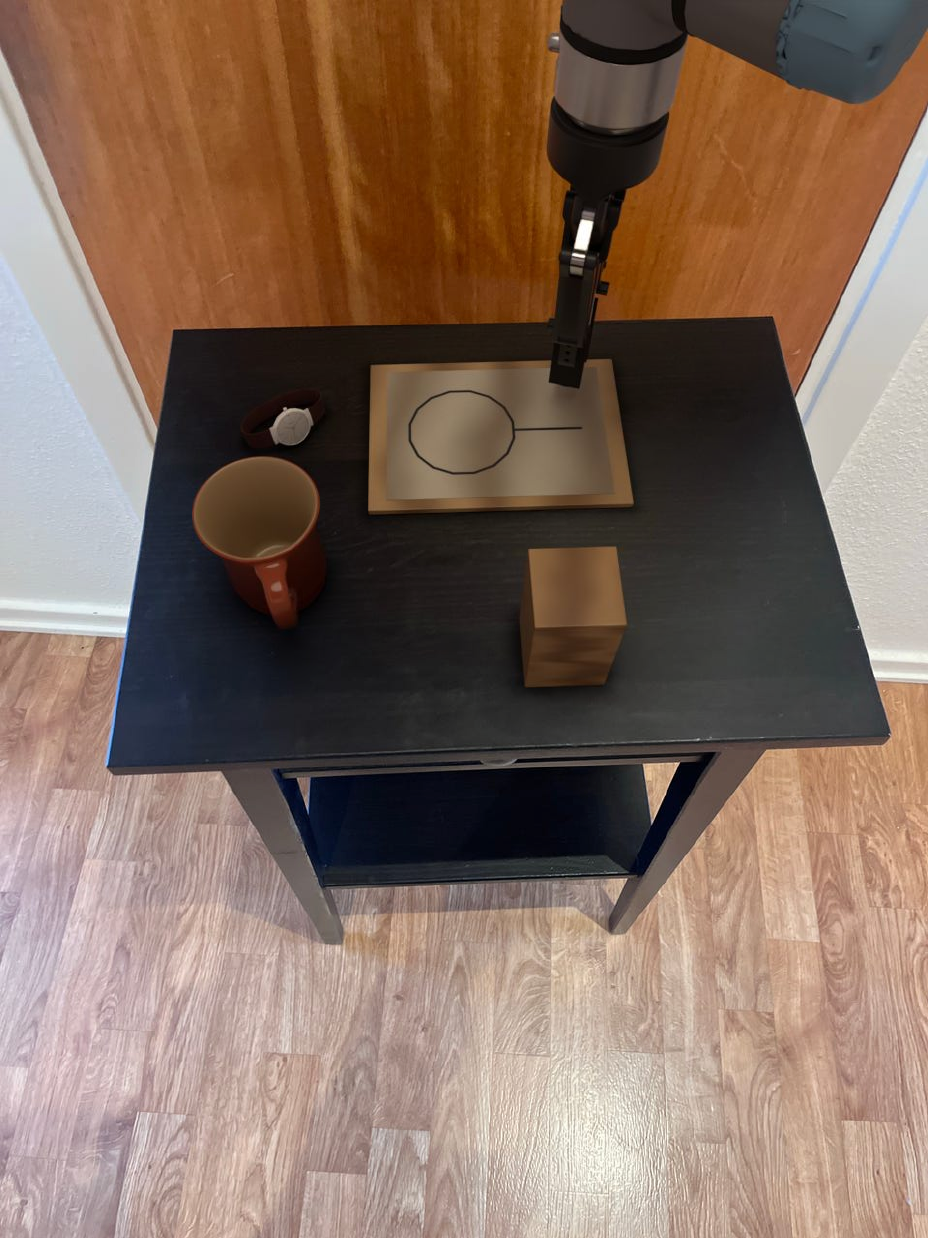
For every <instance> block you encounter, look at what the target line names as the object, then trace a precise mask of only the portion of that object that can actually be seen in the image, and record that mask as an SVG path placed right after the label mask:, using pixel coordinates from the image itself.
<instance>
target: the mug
mask: <svg viewBox="0 0 928 1238" xmlns="http://www.w3.org/2000/svg"><path fill="white" fill-rule="evenodd" d="M320 506H321V501H320V493H319V490H318V488H317V485H316V483H315V482H314V480H313V478H312V477H311V476H310V475H309V473H307V472H306V471H305V470H304V469H303V468H302V467H300V466H299V465H297V464H296V463H293V462H292V461H289V460H287V459H284V458H279V457H274V456H266V455H264V456H263V455H262V456H250V457H245V458H240V459H237V460H235V461H232V462H230V463H228V464H226V465H223V466H222V467H221V468H219V469H217V470H216V471H215V472H214V473H212V474H211V475H210V476H209V477H208V478H207V479H206V480H205V481H204V482H203V484H202V485H201V487H200V488H199V490H198V491H197V494H196V495H195V498H194V501H193V505H192V510H191V511H192V514H191V516H192V523H193V524H192V525H193V528H194V530H195V533H196V535H197V537H198V538H199V540H200V542H201V543H202V544H203V545H204V546H205V547H206V548H207V549H208V550H210V551H211V552H212V553H213V554H214V555H216V556H218V557H219V558H220V559H221V562H222V564H223V567H224V570H225V572H226V574H227V577H228V579H229V582H230V585H231V586H232V588H233V590H234V592H236V594H237V595H238V596H239V597H240V598H241V599H242V600H243V601H244V602H245V603H246V604H247V605H248V606H249V607H250V608H252V610H255V611H257V612H259V613H261V614H263V615H268V616H271V618H272V620H273V622H274V624H275V625H276V627H277V628H279V629H281V630H286V629H290V628H295V627H296V626H297V625H298V623H299V613H298V612H301V611H302V610H304V609H306V608H308V607H309V606H311V604H312V603H313V602H314V601H315V600H316V599H317V597H318V596H319V595H320V593H321V592H322V590H323V588H324V585H325V581H326V575H327V555H326V551H325V548H324V546H323V543H322V540H321V537H320V533H319V531H318V528H317V523H318V519H319V516H320V511H321V510H320V509H321V508H320Z"/></svg>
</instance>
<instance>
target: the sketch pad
mask: <svg viewBox="0 0 928 1238" xmlns="http://www.w3.org/2000/svg"><path fill="white" fill-rule="evenodd" d="M550 367H551V360H519V361H517V360H516V361H515V360H514V361H477V362H476V361H473V362H439V363H438V362H437V363H397V364H371V365H370V379H369V380H370V382H369V385H370V386H369V436H368V437H369V439H368V440H369V441H368V446H369V447H368V494H367V495H368V497H367V498H368V499H367V501H368V502H367V504H368V505H367V511H368V515H369V516H370V515H371V516H372V515H402V514H407V515H408V514H439V513H441V514H442V513H470V512H471V513H472V512H473V513H474V512H476V513H477V512H509V511H510V512H511V511H544V510H545V511H547V510H572V509H573V510H580V509H612V508H613V509H615V508H633V507H634V495H633V490H632V482H631V476H630V471H629V464H628V457H627V450H626V444H625V438H624V432H623V431H624V430H623V425H622V424H623V423H622V420H621V419H622V418H621V412H620V404H619V399H618V391H617V386H616V379H615V373H614V366H613V361H612V358H594V359H587V361H586V362H585V363H584V368H583V374H582V379H581V384H580V388H579V389H577V388H572V387H564V386H561V385H557V384H552V383H548V382H549V375H550Z"/></svg>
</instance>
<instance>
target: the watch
mask: <svg viewBox="0 0 928 1238" xmlns="http://www.w3.org/2000/svg"><path fill="white" fill-rule="evenodd" d="M323 398H324V397H323V393H322V392H321V391H320V390H319V389H318V388H317V389H316V388H311V387H309V388H308V387H303V388H298V389H293V390H290V391H287V392H283V393H281V394H277V395H275V396H274V397H271V398H269V399H268V400H266V401H265V402H264V403H262V404H260V405H258V406H257V407H256V408H253V409H252V410H251V411H250V412H249V413H247V415H245V417H244V418H243V419H242V421H241V423H240V426H239V427H240V428H239V430H240V432H241V434H242V437H243V439H244V440H245V442H246V444H247V445H248V446H249V447H251V448H254V449H262V448H265V447H270V446H272V445H278V444H279V443H280V444H283V445H285V446H294V445H298V444H300V443H301V442H302V441H304V440H305V439H306V437H307V436H308V435H309V433H310V430H311V427H312V426H314V424H315V423H316V422H318V421H319V420H320V419H321V418H322V417H323V416H324V415H325V413H326V406H325V402H324V399H323ZM307 404H313V405H312V406H309V407H308V408H307V407H306V408H304V409H301V408H296V407H298V406H302V405H307ZM276 416H277V417H276ZM273 417H276V418H275V421H274V423H273V425H272V426H271V427H269V428H268V429H266V430H262V431H259V432H256V433H253V432H254V430H255V429H256V428H257V427H259V426H260V425H262V424H263V423H265V422H266V421H268V420H270V419H272V418H273Z"/></svg>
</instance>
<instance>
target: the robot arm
mask: <svg viewBox="0 0 928 1238" xmlns="http://www.w3.org/2000/svg"><path fill="white" fill-rule="evenodd" d="M559 17H560V18H559V26H558V32H551V33H550V35H549V36H548V37H547V41H546V48H547V49H548V51H549V52H551V53H556V54H558V55H557V58H556V60H555V67H554V76H553V77H554V79H553V87H552V92H553V96H552V99H551V102H550V108H549V118H548V128H547V138H546V156H547V160H548V162H549V165H550V166H551V168H552V169H553V170H554V172H555V173H556V174H557V175H558V176H559V177H560V178H561V179H563V180H564V181H566V182H567V183H568V184H569V185H570V186H569V189H566V190H565V191H566V192H565V195H564V199H563V206H562V214H561V216H562V219H563V221H564V225H563V232H562V240H561V244H560V245H561V246H560V251H559V252H558V256H557V260H558V279H557V280H558V281H557V290H556V299H555V307H554V308H555V310H554V316H553V317H549V318H548V321H547V324H546V327H545V329H546V331H548V332H551V333H550V337H551V339H550V340H551V343H553V344H552V345H553V346H552V352H551V360H550V361H551V367H550V375H549V382H548V383H552V384H557V385H562V386H567V387H572V388H577V389H579V388H580V384H581V379H582V374H583V368H584V363H585V362H586V361H587V360H588V357H589V353H590V347H591V341H592V336H593V331H594V325H595V319H596V314H597V310H598V309H597V308H598V304H599V297H596V295H600V296H605V297H607V296H608V293H609V289H610V283H611V281H606V280H602V275H603V272H604V270H605V269H606V268H607V263H608V261H607V260H608V257H609V255H610V251H611V246H612V241H613V237H614V232H615V231H616V228H617V227H618V225H619V222H620V218H621V216H622V215H621V214H622V210H623V204H624V202H625V200H626V196H627V192H628V189H632V188H635V187H637V186H640V185H641V184H642V183H644V182H645V181H647V180H648V179H649V178H650V177H651V176H652V175H653V174H654V173H655V171H656V170H657V168H658V166H659V163H660V161H661V156H662V152H663V148H664V147H663V146H664V142H665V138H666V133H667V129H668V125H669V119H670V109H671V108H672V106H673V104H674V103H675V99H676V93H677V88H678V85H679V80H680V75H681V70H682V68H683V67H682V66H683V63H684V58H685V53H686V49H687V45H688V40H689V36H690V37H692V38H697V39H699V40H701V41H703V42H705V43H707V44H709V45H711V46H713V47H715V48H717V49H720V50H721V51H723V52H726V53H727V54H729V55H732V56H734V57H736V58H737V59H740V60H742V61H744V62H746V63H748V64H751V65H752V66H754V67H757V68H758V69H761V70H762V71H765V72H766V73H769V74H771V75H772V76H774V77H777V78H778V79H780V80H783V81H785V82H786V84H787V85H789V86H790V87H793V88H796V89H798V90H802V89H804V90H805V91H807V92H808V91H809V92H811V91H812V92H815V93H818V94H821V95H824V96H826V97H829V98H831V99H835V100H837V101H840V102H843V103H846V104H848V105H860V104H865V103H867V102H870V101H872V100H873V99H875V98H876V97H879V96H880V95H881V94H882V93H883V92H884V91H885V90H887V88H888V87H889V86H890V85H891V84H892V83H893V82H894V81H895V79H896V78H897V77H898V75H899V73H900V71H901V70H902V68H903V66H904V65H905V64H906V63H907V62H908V61H909V60H910V59H911V57H912V56H913V54H914V53H915V51H916V49H917V48H918V47H919V45H920V44H921V41H922V40H923V38H924V37H925V34H926V32H927V30H928V0H562V3H561V5H560V15H559ZM600 263H601V267H600ZM599 268H600V273H599ZM598 274H599V279H598ZM597 279H598V285H597V289H596V284H597ZM595 290H596V293H595ZM594 295H595V299H594ZM593 300H594V304H593ZM592 306H593V310H592ZM591 311H592V316H591ZM590 316H591V322H590ZM589 322H590V325H589Z"/></svg>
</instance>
